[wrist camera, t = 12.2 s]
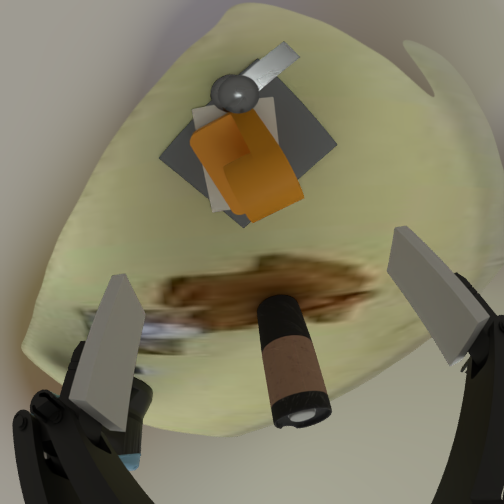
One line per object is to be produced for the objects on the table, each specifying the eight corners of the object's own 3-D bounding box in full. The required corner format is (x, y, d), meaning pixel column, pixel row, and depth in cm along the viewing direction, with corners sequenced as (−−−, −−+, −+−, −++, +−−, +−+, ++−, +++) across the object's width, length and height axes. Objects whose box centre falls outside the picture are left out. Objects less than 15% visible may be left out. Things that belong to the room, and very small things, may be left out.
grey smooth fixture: (231, 119, 27) (238, 144, 15) (202, 94, 25) (184, 96, 13) (274, 81, 25) (318, 74, 13) (246, 54, 23) (267, 23, 11)
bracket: (188, 133, 27) (173, 167, 18) (247, 102, 26) (267, 116, 16) (234, 207, 33) (244, 270, 24) (287, 181, 32) (320, 234, 23)
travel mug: (293, 287, 43) (329, 401, 26) (304, 315, 47) (336, 418, 30) (248, 303, 44) (264, 419, 27) (264, 329, 48) (282, 433, 31)
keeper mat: (148, 158, 29) (147, 160, 29) (251, 53, 24) (252, 52, 23) (242, 235, 36) (243, 237, 36) (340, 149, 31) (342, 150, 30)
